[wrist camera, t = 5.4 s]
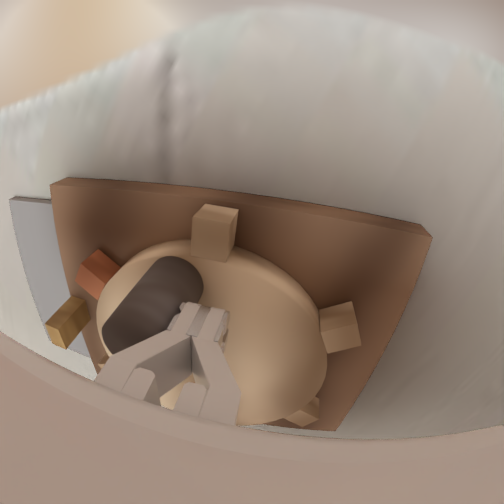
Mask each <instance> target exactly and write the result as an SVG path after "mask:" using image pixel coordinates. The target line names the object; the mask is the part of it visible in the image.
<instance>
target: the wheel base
mask: <svg viewBox="0 0 504 504" xmlns="http://www.w3.org/2000/svg"><path fill="white" fill-rule="evenodd" d="M50 192H51V201H52V208H53V215H54V222H55V228H56V234H57V239H58V245H59V250H60V255H61V259H62V264H63V268H64V272H65V277H66V281H67V285H68V288H69V292H70V296H71V297H70V298H69V299H68V300H67V301H66V302H65V303H64V304H63V305H62V306H61V307H60V308H59V309H58V310H57V311H56V312H55V313H54V314H53V315H52V316H51V317H50V318H49V319H48V320H47V322H46V323H45V326H46V329H47V331H48V334H49V336H50V338H51V341H52V343H53V344H55V345H57V346H60V347H62V348H64V349H67V348H68V347H69V345H70V344H71V343H72V342H73V340H74V339H75V338H76V337H77V335H78V334H79V333H80V332H82V335H83V337H84V340H85V343H86V346H87V349H88V351H89V354H90V357H91V359H92V362H93V364H94V367H95V369H96V372H97V374H99V372H100V371H101V368H100V366H99V365H98V363H99V362H100V360H101V359H102V357H103V356H104V354H105V353H106V350H105V348H104V346H103V344H102V341H101V338H100V335H99V332H98V327H97V317H96V311H97V304H98V300H99V299H98V300H97V299H95V298H94V297H93V296H92V295H91V294H89V293H88V292H87V291H86V290H85V289H84V288H82V287H81V286H80V285H79V284H78V283H77V282H75V279H76V276H77V273H78V270H79V267H80V265H81V263H82V262H83V261H84V260H86V259H87V258H88V257H89V256H90V255H91V254H93V253H94V252H95V251H96V250H98V249H99V250H100V251H102V252H103V253H104V254H105V255H106V256H108V257H109V258H110V259H111V260H112V261H114V262H115V263H116V264H117V265H119V266H120V267H121V268H122V267H123V266H124V265H125V264H126V263H127V262H128V261H129V260H130V259H131V258H132V257H133V256H135V255H136V254H138V253H139V252H140V251H142V250H145V249H147V248H149V247H151V246H153V245H156V244H160V243H163V242H167V241H174V240H182V239H191V235H192V218H193V216H194V215H195V214H196V213H197V212H198V211H199V210H200V209H201V208H202V207H203V206H204V204H210V205H216V206H222V207H228V208H234V209H239V211H238V218H237V226H236V234H235V242H234V246H237V247H239V248H242V249H245V250H247V251H250V252H253V253H255V254H257V255H259V256H261V257H263V258H265V259H267V260H268V261H270V262H272V263H273V264H275V265H276V266H278V267H279V268H281V269H282V270H284V271H285V272H287V273H288V274H289V275H290V276H291V277H292V278H293V279H294V280H296V281H297V282H298V283H299V284H300V285H301V286H302V288H303V289H304V290H305V291H306V292H307V293H308V295H309V296H310V297H311V299H312V300H313V302H314V304H315V305H316V307H317V308H318V311H319V310H320V309H324V308H328V307H331V306H335V305H339V304H343V303H346V302H350V301H352V303H353V308H354V312H355V316H356V320H357V325H358V330H359V335H360V340H361V346H357V347H353V348H349V349H345V350H341V351H337V352H332V353H328V354H327V371H326V376H325V379H324V382H323V384H322V387H321V388H320V390H319V391H318V393H317V394H316V396H315V397H317V398H319V419H318V420H316V421H314V422H312V423H310V424H308V425H306V426H303V427H301V426H299V425H297V424H295V423H292V422H290V421H288V420H286V419H284V418H282V419H279V420H276V421H272V422H268V423H263V424H266V425H273V426H281V427H289V428H299V429H310V430H323V431H336V429H337V428H338V426H339V425H340V424H341V422H342V421H343V419H344V418H345V416H346V415H347V413H348V412H349V410H350V409H351V407H352V405H353V404H354V402H355V401H356V399H357V397H358V396H359V394H360V393H361V391H362V389H363V388H364V386H365V384H366V383H367V381H368V379H369V378H370V376H371V374H372V372H373V371H374V369H375V367H376V365H377V363H378V362H379V360H380V358H381V356H382V354H383V352H384V350H385V348H386V347H387V345H388V343H389V341H390V339H391V337H392V335H393V333H394V331H395V329H396V327H397V324H398V322H399V320H400V318H401V316H402V314H403V312H404V309H405V307H406V305H407V303H408V300H409V298H410V296H411V293H412V291H413V289H414V286H415V284H416V281H417V279H418V276H419V274H420V271H421V269H422V266H423V263H424V261H425V258H426V255H427V252H428V250H429V247H430V244H431V241H432V238H433V237H432V236H431V235H430V234H429V233H428V232H427V231H426V230H425V229H424V228H423V227H422V226H421V225H419V224H415V223H410V222H406V221H401V220H396V219H392V218H387V217H382V216H377V215H372V214H367V213H362V212H357V211H352V210H346V209H341V208H335V207H330V206H324V205H318V204H313V203H307V202H300V201H294V200H288V199H281V198H275V197H268V196H261V195H254V194H247V193H239V192H231V191H223V190H215V189H207V188H198V187H188V186H179V185H169V184H158V183H146V182H134V181H120V180H105V179H87V178H65V179H62V180H60V181H58V182H55V183H53V184H51V185H50Z"/></svg>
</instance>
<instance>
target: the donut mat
mask: <svg viewBox="0 0 504 504" xmlns="http://www.w3.org/2000/svg"><path fill="white" fill-rule="evenodd" d="M9 204H10V210H11V215H12V221H13V226H14V231H15V235H16V240H17V244H18V248H19V252H20V256H21V260H22V264H23V267H24V271H25V274H26V277H27V281H28V284H29V287H30V290H31V293H32V296H33V299H34V302H35V305H36V308H37V310H38V313H39V316H40V318H41V321H42V323H43V326H44V328H45V331H46V333H47V336H48V338H49V340H50V341H51V338H50V336H49V334H48V331H47V329H46V326H45V323H46V322H47V320H48V319H49V318H50V317H51V316H52V315H53V314H54V313H55V312H56V311H57V310H58V309H59V308H60V307H61V306H62V305H63V304H64V303H65V302H66V301H67V300H68V299H69V298H70V297H71V296H70V292H69V288H68V285H67V281H66V277H65V272H64V268H63V264H62V259H61V255H60V250H59V245H58V239H57V234H56V228H55V222H54V215H53V208H52V201H51V200H43V199H33V198H22V197H13V198H11V199H9ZM68 349H70V350H73V351H75V352H78V353H80V354H82V355H85V356H87V357H90V354H89V351H88V349H87V346H86V343H85V340H84V337H83V335H82V332H80V333H79V334H78V335H77V337H76V338H75V339H74V340H73V342H72V343H71V344H70V345H69V347H68ZM90 358H91V357H90Z"/></svg>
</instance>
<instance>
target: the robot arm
mask: <svg viewBox="0 0 504 504" xmlns="http://www.w3.org/2000/svg"><path fill="white" fill-rule="evenodd" d="M229 321H230V311H227V310H225V309H220V308H214V307H209V306H205V305H200V304H196V303H192V302H182V304H181V305H180V307H179V314H177V315H175V316H174V317H173V319H172V321H171V323H170V324H169V326H168V328H167V330H165V331H163V332H161V333H159V334H156V335H154V336H152V337H150V338H148V339H146V340H144V341H142V342H139V343H137V344H135V345H133V346H131V347H129V348H127V349H124V350H122V351H120V352H118V353H116V354H113V355H111V356H110V357H109V359H108V360H107V362H106V363H105V365H104V366H103V368H102V369H101V371H100V372H99V374H98V375H97V377H96V378H95V380H94V381H92V380H90V379H87V378H85V377H83V376H81V375H78V374H76V373H74V372H72V371H70V370H68V369H66V368H64V367H62V366H60V365H58V364H56V363H54V362H52V361H50V360H48V359H46V358H45V357H43V356H41V355H39V354H37V353H35V352H34V351H32V350H30V349H28V348H27V347H25V346H23V345H22V344H20V343H18V342H17V341H15V340H13V339H12V338H10V337H9V336H7V335H5V334H4V333H2V332H1V331H0V504H504V425H499V426H493V427H489V428H484V429H479V430H473V431H468V432H462V433H455V434H448V435H440V436H430V437H419V438H404V439H338V438H322V437H310V436H300V435H291V434H283V433H276V432H269V431H262V430H256V429H251V428H245V427H240V426H236V421H237V415H238V410H239V404H240V399H241V391H240V389H239V387H238V385H237V382H236V380H235V378H234V376H233V374H232V372H231V370H230V368H229V365H228V363H227V361H226V359H225V357H224V352H225V348H226V344H227V339H228V332H229V330H228V328H227V327H228V324H229ZM192 373H193V376H194V380H195V383H192V382H188V383H186V384H184V386H183V388H182V390H181V393H180V395H179V397H178V400H177V402H176V404H175V407H174V409H173V410H171V409H167V408H164V407H161V403H160V397H161V396H163V395H164V394H166V393H167V392H168V391H170V390H171V389H173V388H174V387H175V386H177V385H178V384H179V383H181V382H182V381H184V380H185V379H186V378H188V377H189V376H190V375H192Z"/></svg>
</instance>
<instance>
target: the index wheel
mask: <svg viewBox="0 0 504 504" xmlns="http://www.w3.org/2000/svg"><path fill="white" fill-rule="evenodd" d="M238 211H239V209H234V208H228V207H222V206H216V205H210V204H204V206H203V207H202V208H201V209H200V210H199V211H198V212H197V213H196V214H195V215H194V216H193V218H192V235H191V239H182V240H174V241H167V242H163V243H160V244H156V245H153V246H151V247H149V248H147V249H145V250H142V251H140V252H139V253H138V254H136V255H135V256H133V257H132V258H131V259H130V260H129V261H128V262H127V263H126V264H125V265H124V266H123V267H122V268H121V267H120V266H119V265H117V264H116V263H115V262H114V261H112V260H111V259H110V258H109V257H108V256H106V255H105V254H104V253H103V252H102V251H100V250H99V249H98V250H96V251H95V252H94V253H93V254H91V255H90V256H89V257H88V258H87V259H86V260H84V261H83V262H82V263H81V265H80V267H79V270H78V273H77V276H76V279H75V282H77V283H78V284H79V285H80V286H81V287H82V288H84V289H85V290H86V291H87V292H88V293H89V294H91V295H92V296H93V297H94V298H95V299H97V300H98V299H99V300H98V304H97V311H96V317H97V327H98V332H99V335H100V338H101V341H102V344H103V346H104V348H105V350H106V353H105V354H104V356H103V357H102V359H101V360H100V362H99V363H98V365H99V366H100V368H101V369H102V368H103V366H104V365H105V363H106V362H107V360H108V359H109V357H110V356H111V355H113V354H116V353H118V352H120V351H122V350H124V349H127V348H129V347H131V346H133V345H135V344H137V343H139V342H142V341H144V340H146V339H148V338H150V337H152V336H154V335H156V334H159V333H161V332H163V331H165V330H167V328H168V326H169V324H170V323H171V321H172V319H173V317H174V316H175V315H177V314H179V307H180V305H181V304H182V302H192V303H196V304H200V305H205V306H209V307H214V308H220V309H225V310H227V311H230V321H229V324H228V327H227V328H228V330H229V332H228V339H227V344H226V348H225V352H224V357H225V359H226V361H227V363H228V365H229V368H230V370H231V372H232V374H233V376H234V378H235V380H236V382H237V385H238V387H239V389H240V391H241V399H240V404H239V410H238V415H237V421H236V426H237V425H256V424H263V423H268V422H272V421H276V420H279V419H282V418H284V419H286V420H288V421H290V422H292V423H295V424H297V425H299V426H301V427H303V426H306V425H308V424H310V423H312V422H314V421H316V420H318V419H319V398H317V397H315V396H316V394H317V393H318V391H319V390H320V388H321V387H322V384H323V382H324V379H325V376H326V371H327V354H328V353H332V352H337V351H341V350H345V349H349V348H353V347H357V346H361V340H360V335H359V330H358V325H357V320H356V316H355V312H354V308H353V303H352V301H350V302H346V303H343V304H339V305H335V306H331V307H328V308H324V309H320V310H319V311H318V308H317V307H316V305H315V304H314V302H313V300H312V299H311V297H310V296H309V295H308V293H307V292H306V291H305V290H304V289H303V288H302V286H301V285H300V284H299V283H298V282H297V281H296V280H294V279H293V278H292V277H291V276H290V275H289V274H288V273H287V272H285V271H284V270H282V269H281V268H279V267H278V266H276V265H275V264H273V263H272V262H270V261H268V260H267V259H265V258H263V257H261V256H259V255H257V254H255V253H253V252H250V251H247V250H245V249H242V248H239V247H237V246H234V242H235V234H236V226H237V218H238ZM188 382H192V383H195V380H194V376H193V373H192V375H190V376H189V377H188V378H186V379H185V380H184V381H182V382H181V383H179V384H178V385H177V386H175V387H174V388H173V389H171V390H170V391H168V392H167V393H166V394H164V395H163V396H161V397H160V403H161V405H163V406H164V407H166V408H168V409H171V410H173V409H174V407H175V404H176V402H177V400H178V397H179V395H180V393H181V390H182V388H183V386H184V384H186V383H188Z"/></svg>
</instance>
